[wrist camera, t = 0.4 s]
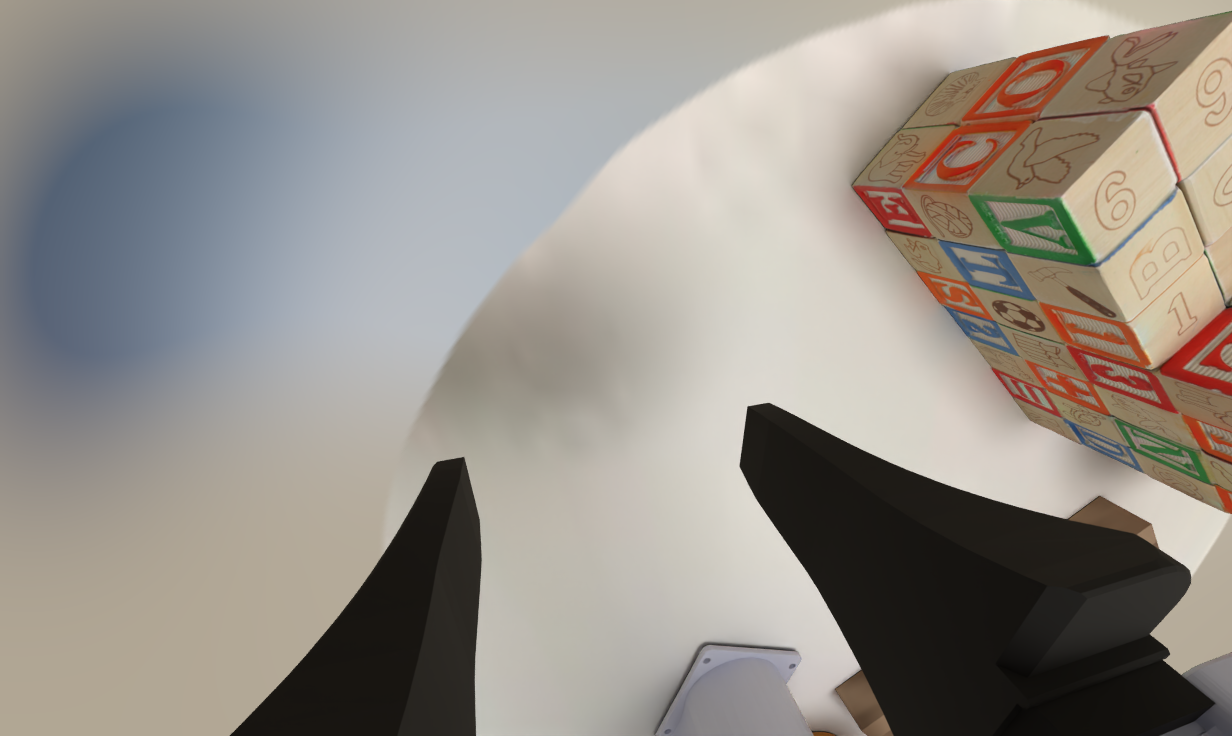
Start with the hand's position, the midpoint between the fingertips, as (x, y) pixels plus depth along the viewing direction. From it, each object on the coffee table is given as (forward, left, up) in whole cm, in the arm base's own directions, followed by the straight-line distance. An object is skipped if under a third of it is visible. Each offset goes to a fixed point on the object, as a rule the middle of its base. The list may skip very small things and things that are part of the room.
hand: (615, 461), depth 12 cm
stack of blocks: (+9, -21, -11) cm, 25 cm away
